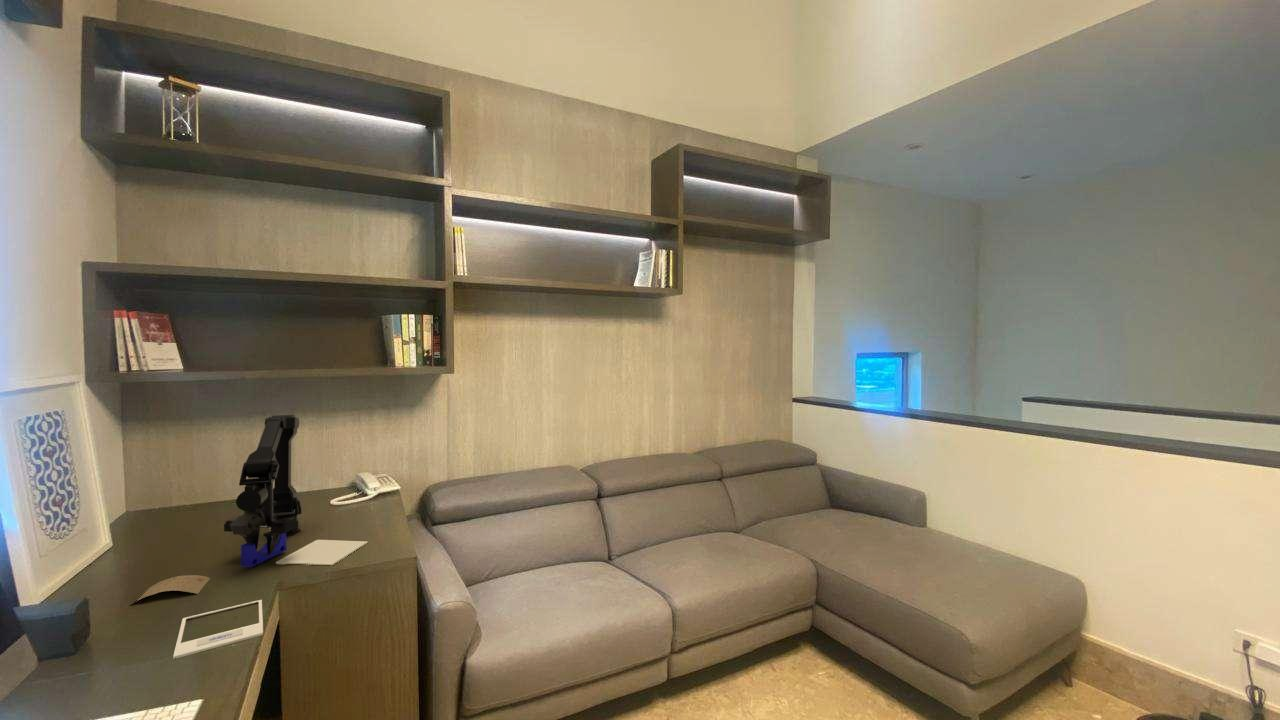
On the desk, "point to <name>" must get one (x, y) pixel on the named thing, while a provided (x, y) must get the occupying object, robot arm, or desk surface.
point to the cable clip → (260, 552)
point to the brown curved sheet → (178, 585)
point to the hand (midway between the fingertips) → (262, 553)
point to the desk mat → (322, 552)
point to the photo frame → (217, 635)
